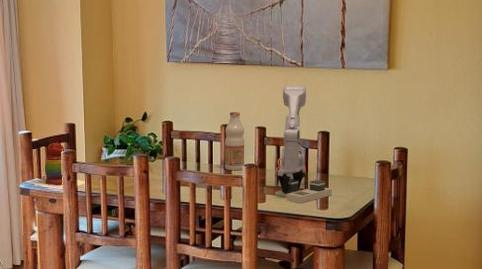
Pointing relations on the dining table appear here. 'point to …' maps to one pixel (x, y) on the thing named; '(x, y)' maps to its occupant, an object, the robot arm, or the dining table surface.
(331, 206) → the dining table surface
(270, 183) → the dining table surface
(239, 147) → the fruit juice
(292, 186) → the plug
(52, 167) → the stacking bear
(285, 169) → the robot arm
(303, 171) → the sugar bowl
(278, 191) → the tray
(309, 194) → the strip
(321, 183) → the twin plug
